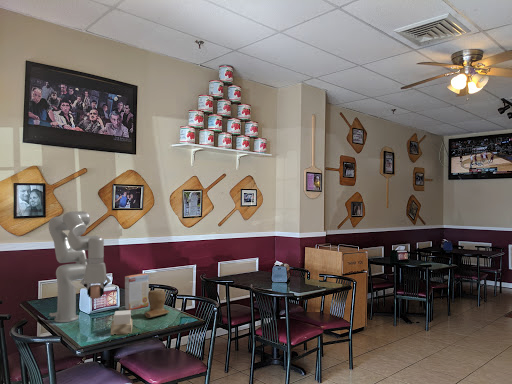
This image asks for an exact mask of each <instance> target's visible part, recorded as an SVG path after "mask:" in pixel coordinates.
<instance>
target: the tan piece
mask: <svg viewBox="0 0 512 384" xmlns="http://www.w3.org/2000/svg"><path fill="white" fill-rule="evenodd" d="M148 299H149V310H147V311H145V312H144V313H143V314H144V316H145V317H146V318H147V319H151V318H155V317H159V316H163V315H166V314H169V313H170V311H169V310H167V309H165V308H164V305H165V303H166V302H165V301H166V292H165V290H164V289H161V290H160V289H157V290H149V293H148Z"/></svg>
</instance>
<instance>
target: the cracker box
mask: <svg viewBox="0 0 512 384" xmlns="http://www.w3.org/2000/svg"><path fill="white" fill-rule="evenodd" d="M149 275H150V274H148V273H137V274H131V275H126V276H124V309H125V310H131V311H132V310H137V309H141V308H145V307H147V308H148V307H150V304H149V299H148V293H149V291H150V289H149V287H150V286H149V285H150V284H149V280H150V277H149Z"/></svg>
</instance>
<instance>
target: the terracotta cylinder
mask: <svg viewBox="0 0 512 384" xmlns="http://www.w3.org/2000/svg"><path fill="white" fill-rule="evenodd" d="M100 289H101V285H100V284H91V286H90V297H89V298H90V299H100V298H102V296H100Z"/></svg>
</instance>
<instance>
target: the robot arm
mask: <svg viewBox="0 0 512 384" xmlns="http://www.w3.org/2000/svg"><path fill="white" fill-rule="evenodd" d="M90 223H91V216H90V214H89V213H88V212H87V211H83V210H80V211H78V210H77V211H67V212H65V213H64V214H63V215H60V216H54V217H52V218H50V220H49V221H48V231H49V234H50V236H51V238H52V241H53V245H54V250H55V251H54V252H55V258H56V260H57V262H58V263H59V264H62V265H59V266H58V267H57V268H56V270H55V276H56V282H57V306H56V307H57V310H56V311H55V312H50V313H49V315H48V316H49V317H50V318H54V322H56V323H68V322H69V323H70V322H74V321H76V320H78V319H79V315H78V314H76V311H77V310H76V308H77V306H76V303H77V302H76V299H77V296H76V295H77V290H76V289H77V288H76V286H75V284H74V283H73V282H72V281H78V280H81V281H80V282H79V283H80V284H81V285H82V286H84V287H85V288H86V290H87V291H86V294H87V295H86V296H88V298H90V286H91V285H101V289H100V296H101V297H102V296H104V295H105V290H104V289H105V288H106V286H107V285H108V284H110V283H111V282H112V280H111V279H110V278H109V277H108V275H107V268H106V263H105V262H104V257H105V255H104V254H105V253H104V251H105V250H104V249H105V247H104V246H105V245H104V244H105V242H104V241H105V240H104V238H103V237H101V236H98V235H84V236H82V235H83V234H85V232H86V231H87V226H88V225H89V224H90ZM65 231H68V234H66V233H65ZM86 251H87V254H88V255H87V254H86ZM87 257H88V258H87ZM65 263H66V264H65ZM67 263H68V264H67Z"/></svg>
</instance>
